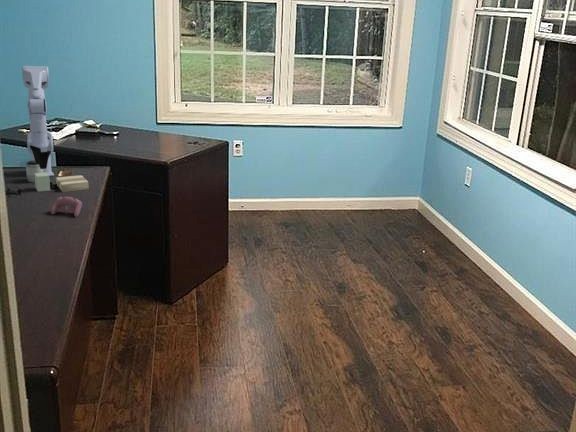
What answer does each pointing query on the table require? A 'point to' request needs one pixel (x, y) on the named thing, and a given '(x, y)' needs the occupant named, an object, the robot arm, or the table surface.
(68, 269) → the table surface
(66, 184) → the birch block
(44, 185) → the sage block
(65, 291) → the table surface
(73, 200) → the video game controller
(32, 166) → the camera lens
